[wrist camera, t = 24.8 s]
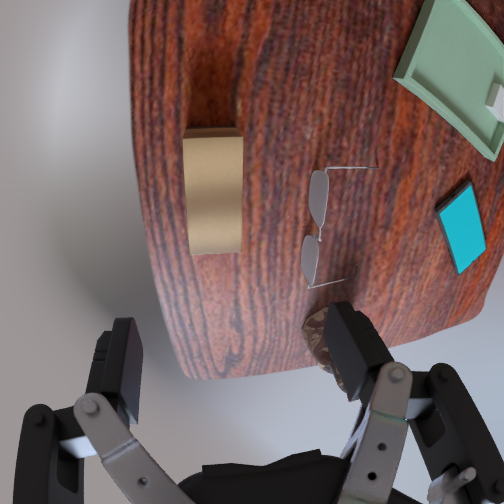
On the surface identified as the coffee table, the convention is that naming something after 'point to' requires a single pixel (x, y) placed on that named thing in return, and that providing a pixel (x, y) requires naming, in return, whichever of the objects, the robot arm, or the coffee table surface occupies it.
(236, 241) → the eraser
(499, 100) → the chalk lump
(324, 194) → the eyeglasses
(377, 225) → the coffee table surface
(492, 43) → the tray
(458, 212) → the smartphone
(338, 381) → the figurine
